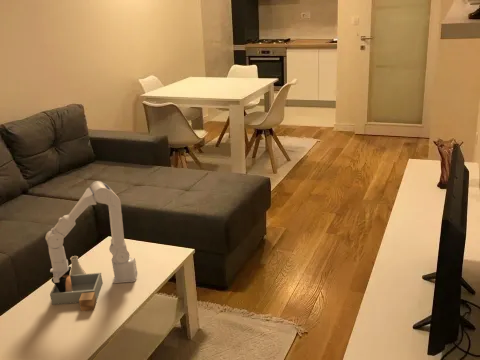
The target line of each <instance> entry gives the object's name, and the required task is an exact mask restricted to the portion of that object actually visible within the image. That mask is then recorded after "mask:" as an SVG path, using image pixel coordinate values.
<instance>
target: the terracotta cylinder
mask: <svg viewBox="0 0 480 360" xmlns="http://www.w3.org/2000/svg"><path fill="white" fill-rule="evenodd" d="M62 277H67V278H66V292H72V291H73V290H72V284H71V278H70V275H67V274H65V275H62Z"/></svg>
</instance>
